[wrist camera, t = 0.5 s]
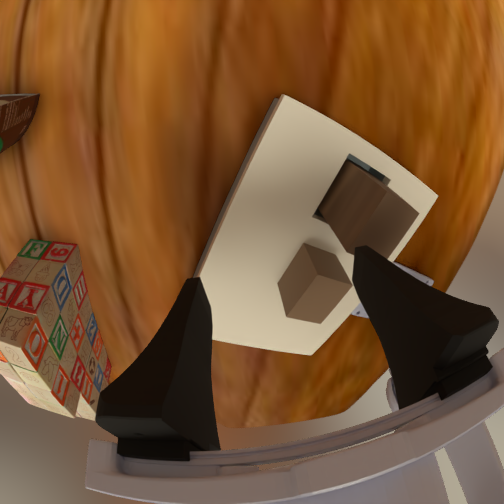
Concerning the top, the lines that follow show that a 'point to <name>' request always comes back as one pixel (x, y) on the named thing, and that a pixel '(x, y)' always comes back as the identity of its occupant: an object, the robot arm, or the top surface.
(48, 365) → the stack of blocks
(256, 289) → the lid
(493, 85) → the top surface
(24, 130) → the food container
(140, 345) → the top surface
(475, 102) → the top surface
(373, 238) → the walnut key
